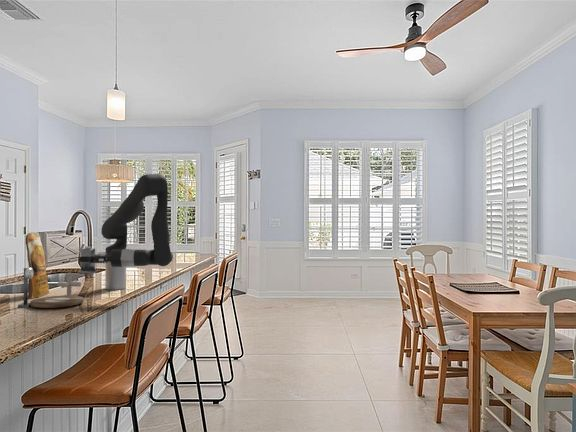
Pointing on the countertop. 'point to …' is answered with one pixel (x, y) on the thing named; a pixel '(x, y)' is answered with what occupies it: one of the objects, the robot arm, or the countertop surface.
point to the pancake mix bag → (36, 266)
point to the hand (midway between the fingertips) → (81, 258)
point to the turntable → (56, 301)
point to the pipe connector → (69, 284)
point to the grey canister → (86, 266)
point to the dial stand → (26, 287)
